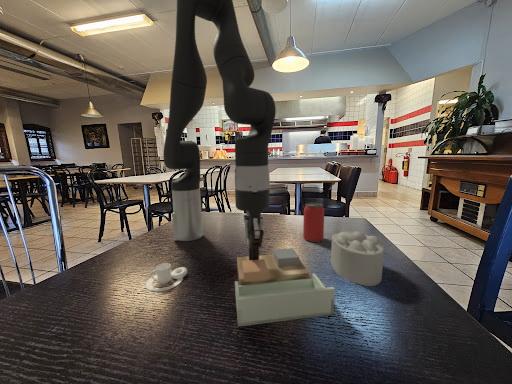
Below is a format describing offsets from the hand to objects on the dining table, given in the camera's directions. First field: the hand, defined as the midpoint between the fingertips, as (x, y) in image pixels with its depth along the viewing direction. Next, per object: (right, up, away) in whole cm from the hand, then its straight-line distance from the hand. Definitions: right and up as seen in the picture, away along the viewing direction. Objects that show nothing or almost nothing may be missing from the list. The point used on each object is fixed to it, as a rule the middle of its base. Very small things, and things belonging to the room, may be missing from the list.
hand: (253, 260), depth 50 cm
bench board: (+4, -4, +1) cm, 6 cm away
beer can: (+20, 0, +23) cm, 30 cm away
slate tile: (+8, -1, +2) cm, 8 cm away
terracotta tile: (0, -2, -4) cm, 4 cm away
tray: (+5, -6, -9) cm, 11 cm away
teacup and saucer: (-18, -5, -1) cm, 19 cm away
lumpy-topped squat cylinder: (+25, -4, +3) cm, 26 cm away
